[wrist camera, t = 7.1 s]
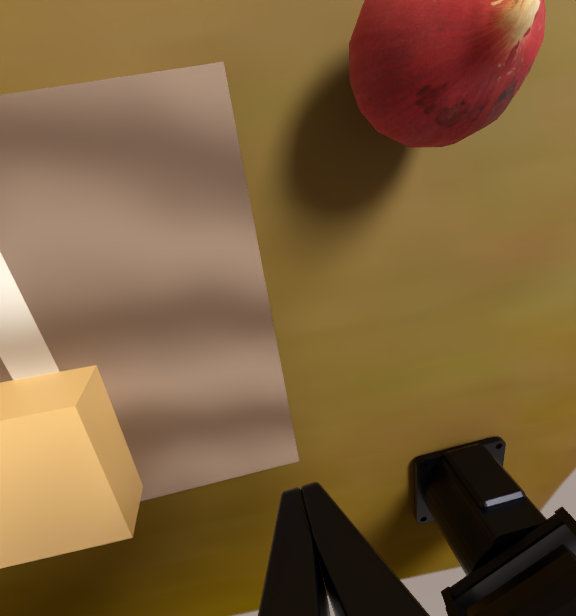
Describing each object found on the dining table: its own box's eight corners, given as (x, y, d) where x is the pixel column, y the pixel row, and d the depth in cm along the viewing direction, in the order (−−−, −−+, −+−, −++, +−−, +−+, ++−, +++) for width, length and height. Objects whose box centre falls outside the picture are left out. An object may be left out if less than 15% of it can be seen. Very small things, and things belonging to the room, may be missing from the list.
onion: (469, 105, 17) (650, 83, 10) (356, 169, 18) (455, 191, 10) (431, -46, 15) (638, -220, 8) (301, 31, 15) (381, -66, 8)
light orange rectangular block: (143, 486, 21) (132, 537, 18) (28, 511, 20) (-1, 568, 18) (96, 365, 18) (75, 406, 15) (-44, 390, 17) (-93, 438, 14)
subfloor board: (294, 442, 24) (299, 461, 22) (-10, 518, 22) (-25, 543, 21) (222, 68, 15) (223, 62, 14) (-287, 145, 13) (-343, 146, 12)
